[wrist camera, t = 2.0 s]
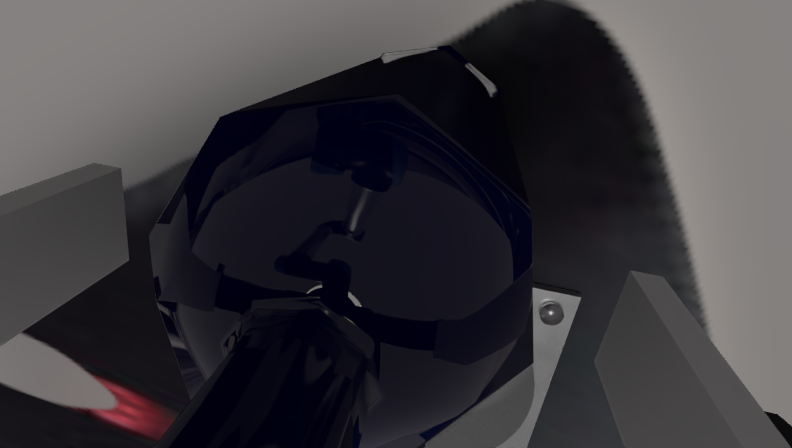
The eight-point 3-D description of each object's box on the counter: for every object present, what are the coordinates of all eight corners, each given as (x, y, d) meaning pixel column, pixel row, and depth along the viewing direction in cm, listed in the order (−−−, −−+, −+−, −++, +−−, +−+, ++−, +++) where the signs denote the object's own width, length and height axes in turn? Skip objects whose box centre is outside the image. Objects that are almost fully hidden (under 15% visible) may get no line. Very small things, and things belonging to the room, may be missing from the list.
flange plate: (324, 239, 30) (316, 251, 29) (579, 292, 29) (584, 307, 27) (307, 423, 37) (299, 441, 35) (513, 473, 35) (515, 494, 34)
